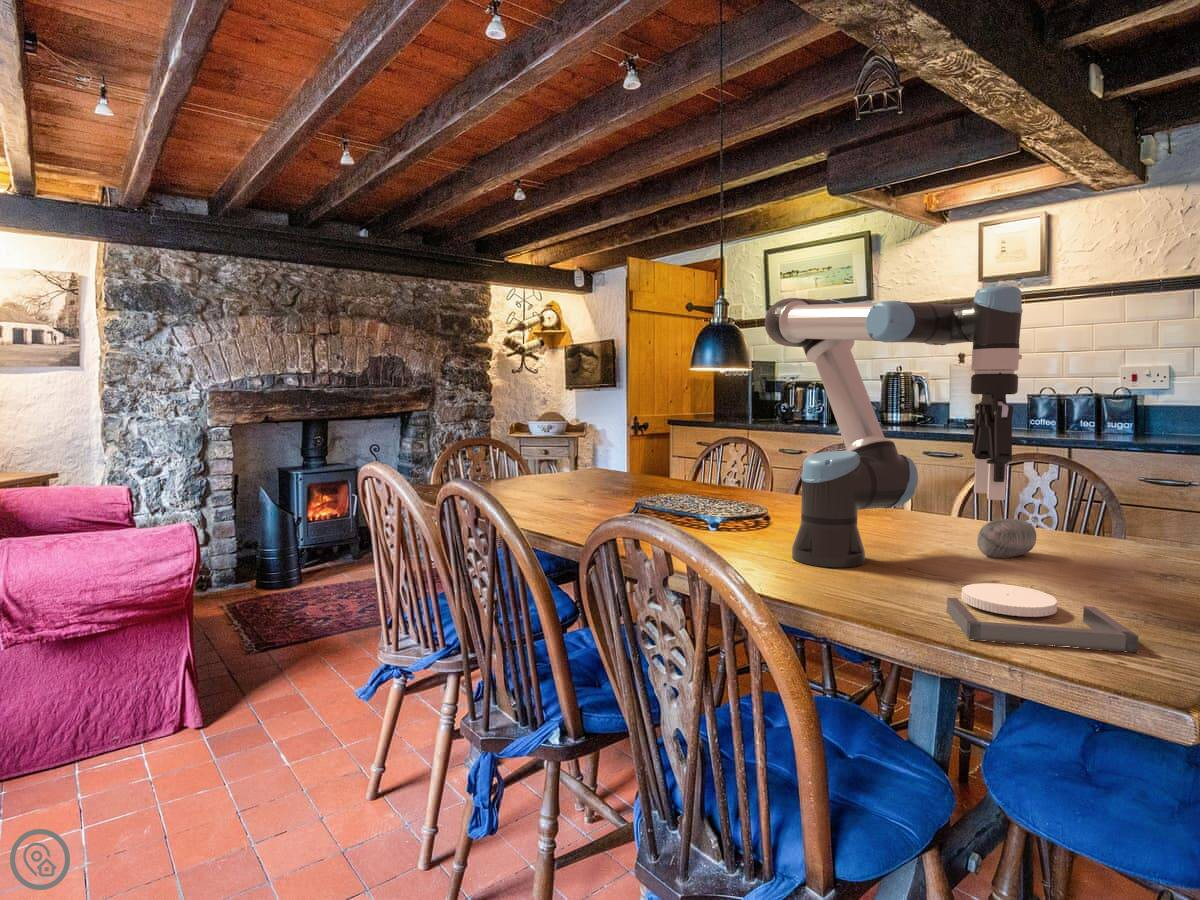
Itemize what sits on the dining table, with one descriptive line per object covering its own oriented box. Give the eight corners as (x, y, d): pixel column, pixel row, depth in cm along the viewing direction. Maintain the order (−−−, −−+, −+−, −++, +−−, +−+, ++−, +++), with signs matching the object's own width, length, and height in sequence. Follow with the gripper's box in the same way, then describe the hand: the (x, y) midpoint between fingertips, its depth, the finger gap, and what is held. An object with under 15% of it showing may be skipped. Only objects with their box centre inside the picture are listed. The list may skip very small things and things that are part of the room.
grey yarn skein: (1004, 532, 163) (1017, 500, 158) (1039, 558, 156) (1054, 525, 150) (960, 551, 159) (972, 518, 153) (995, 578, 152) (1008, 545, 146)
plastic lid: (971, 592, 128) (971, 578, 128) (1061, 607, 119) (1062, 592, 119) (952, 611, 117) (953, 596, 117) (1050, 629, 108) (1051, 613, 108)
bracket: (969, 640, 102) (970, 624, 102) (946, 612, 116) (947, 597, 115) (1137, 653, 97) (1138, 635, 97) (1093, 622, 110) (1094, 606, 110)
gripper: (1038, 371, 116) (1031, 505, 118) (999, 374, 136) (993, 489, 138) (989, 371, 118) (983, 504, 120) (957, 374, 138) (952, 488, 140)
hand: (988, 496), depth 129 cm, fingers open, 8 cm apart
